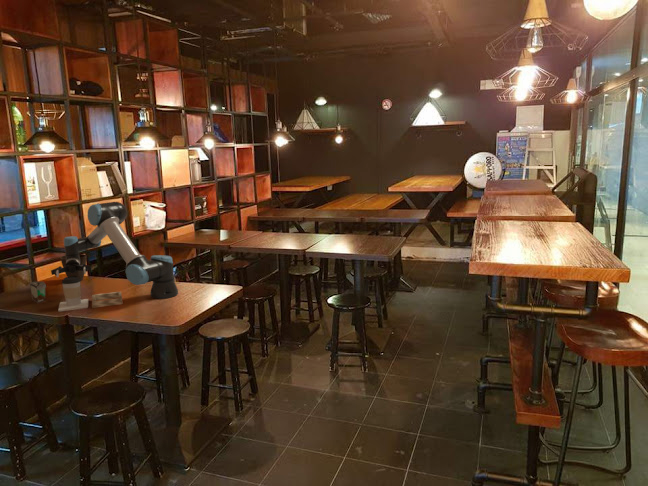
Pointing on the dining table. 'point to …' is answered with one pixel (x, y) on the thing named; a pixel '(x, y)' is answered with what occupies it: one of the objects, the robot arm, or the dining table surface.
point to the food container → (38, 291)
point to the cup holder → (106, 302)
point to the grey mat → (64, 306)
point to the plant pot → (83, 261)
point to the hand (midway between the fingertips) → (70, 273)
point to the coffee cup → (72, 290)
